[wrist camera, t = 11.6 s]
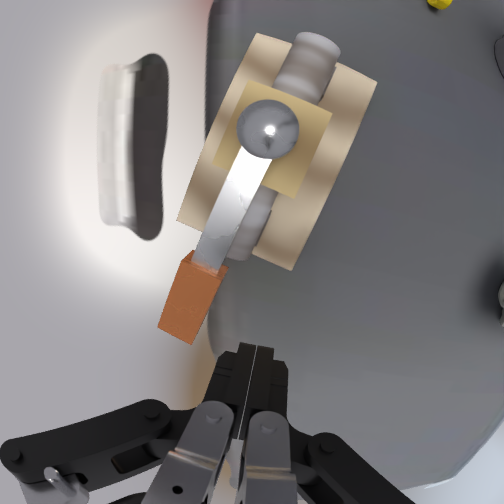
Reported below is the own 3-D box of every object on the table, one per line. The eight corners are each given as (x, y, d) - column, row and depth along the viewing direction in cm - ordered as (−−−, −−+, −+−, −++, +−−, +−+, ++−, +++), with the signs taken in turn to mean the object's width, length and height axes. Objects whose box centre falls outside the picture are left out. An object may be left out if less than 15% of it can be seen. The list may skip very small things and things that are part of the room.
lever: (306, 121, 13) (310, 114, 12) (204, 330, 18) (195, 347, 16) (256, 98, 13) (252, 89, 11) (165, 309, 18) (153, 325, 16)
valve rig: (258, 39, 21) (241, -22, 11) (372, 86, 21) (418, 47, 11) (181, 217, 27) (126, 248, 17) (291, 265, 28) (292, 323, 17)
